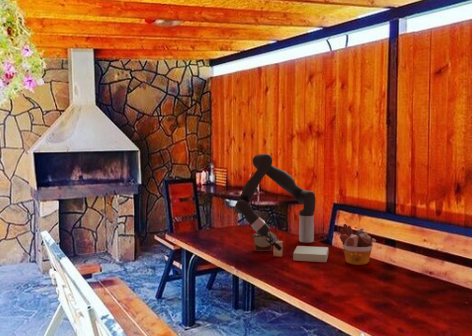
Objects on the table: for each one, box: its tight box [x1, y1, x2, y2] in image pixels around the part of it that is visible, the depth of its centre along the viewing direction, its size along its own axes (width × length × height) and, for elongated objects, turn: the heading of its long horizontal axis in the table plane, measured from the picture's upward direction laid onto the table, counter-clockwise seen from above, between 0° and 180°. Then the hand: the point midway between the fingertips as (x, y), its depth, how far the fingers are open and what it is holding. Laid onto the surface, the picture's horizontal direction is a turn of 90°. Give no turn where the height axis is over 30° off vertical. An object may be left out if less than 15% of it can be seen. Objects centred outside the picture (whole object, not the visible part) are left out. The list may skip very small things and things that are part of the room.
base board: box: [292, 245, 329, 263], centre depth 272 cm, size 18×18×4 cm
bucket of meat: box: [339, 223, 377, 266], centre depth 259 cm, size 20×16×20 cm
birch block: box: [273, 240, 284, 258], centre depth 276 cm, size 4×4×8 cm
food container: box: [252, 232, 273, 252], centre depth 291 cm, size 12×6×10 cm, turn 84°
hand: (281, 248), depth 276 cm, fingers closed on birch block, 4 cm apart
